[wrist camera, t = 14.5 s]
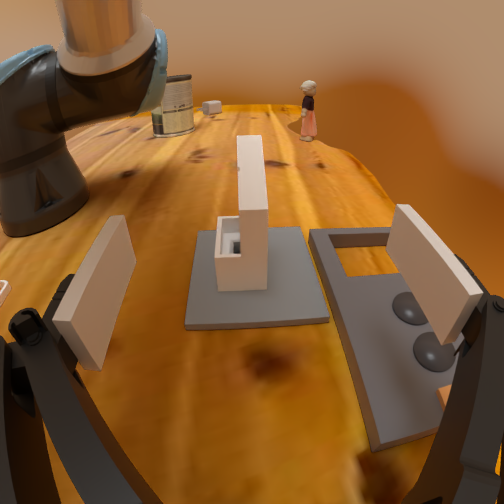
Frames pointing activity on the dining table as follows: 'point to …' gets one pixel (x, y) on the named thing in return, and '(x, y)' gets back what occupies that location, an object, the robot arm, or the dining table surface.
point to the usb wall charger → (211, 107)
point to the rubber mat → (257, 301)
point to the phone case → (4, 290)
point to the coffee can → (174, 108)
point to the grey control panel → (385, 343)
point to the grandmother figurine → (308, 112)
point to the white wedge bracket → (245, 225)
